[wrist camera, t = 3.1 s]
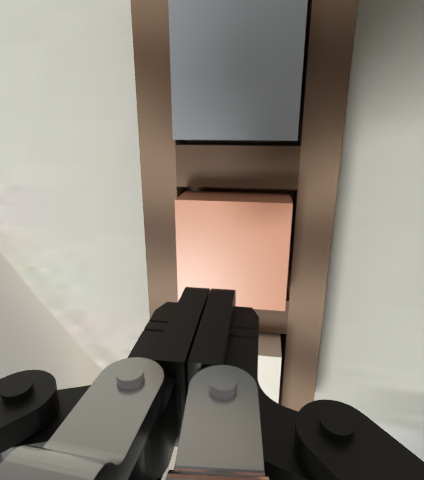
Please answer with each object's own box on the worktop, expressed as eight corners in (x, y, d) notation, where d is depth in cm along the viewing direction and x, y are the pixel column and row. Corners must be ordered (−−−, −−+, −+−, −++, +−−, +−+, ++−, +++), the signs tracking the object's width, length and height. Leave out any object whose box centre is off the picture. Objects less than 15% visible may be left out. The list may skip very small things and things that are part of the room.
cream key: (274, 407, 21) (275, 438, 19) (190, 397, 21) (182, 427, 19) (280, 332, 19) (281, 357, 17) (188, 324, 20) (179, 348, 18)
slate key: (293, 138, 16) (297, 140, 14) (184, 137, 17) (172, 139, 15) (302, 10, 14) (308, -10, 12) (181, 15, 15) (167, -3, 13)
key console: (304, 401, 23) (309, 440, 20) (169, 387, 24) (156, 421, 21) (346, -15, 16) (362, -45, 13) (151, -5, 17) (129, -30, 14)
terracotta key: (283, 290, 18) (285, 311, 16) (187, 283, 19) (177, 303, 17) (289, 193, 17) (292, 203, 15) (185, 190, 17) (174, 199, 15)
